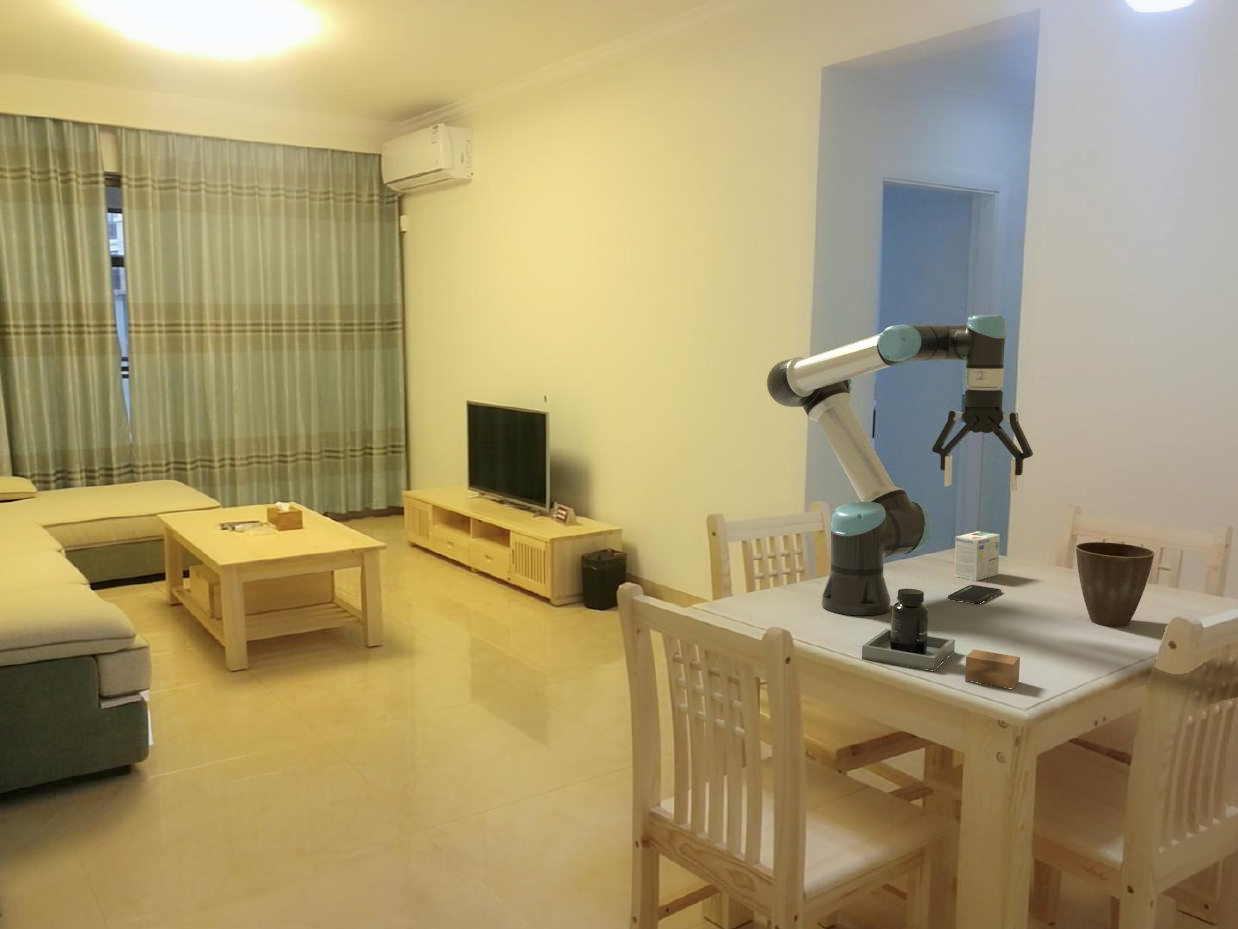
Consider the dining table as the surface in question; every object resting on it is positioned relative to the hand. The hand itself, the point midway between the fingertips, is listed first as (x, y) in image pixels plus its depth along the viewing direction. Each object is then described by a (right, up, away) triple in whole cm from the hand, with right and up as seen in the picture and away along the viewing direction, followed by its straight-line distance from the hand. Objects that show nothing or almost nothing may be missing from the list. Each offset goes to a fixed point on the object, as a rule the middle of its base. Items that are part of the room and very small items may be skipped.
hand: (979, 488), depth 212 cm
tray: (-22, -32, -21) cm, 44 cm away
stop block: (-11, -33, -36) cm, 51 cm away
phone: (+7, -27, +23) cm, 36 cm away
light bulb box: (+15, -24, +43) cm, 51 cm away
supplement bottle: (-22, -31, -22) cm, 44 cm away
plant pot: (+28, -29, 0) cm, 40 cm away
